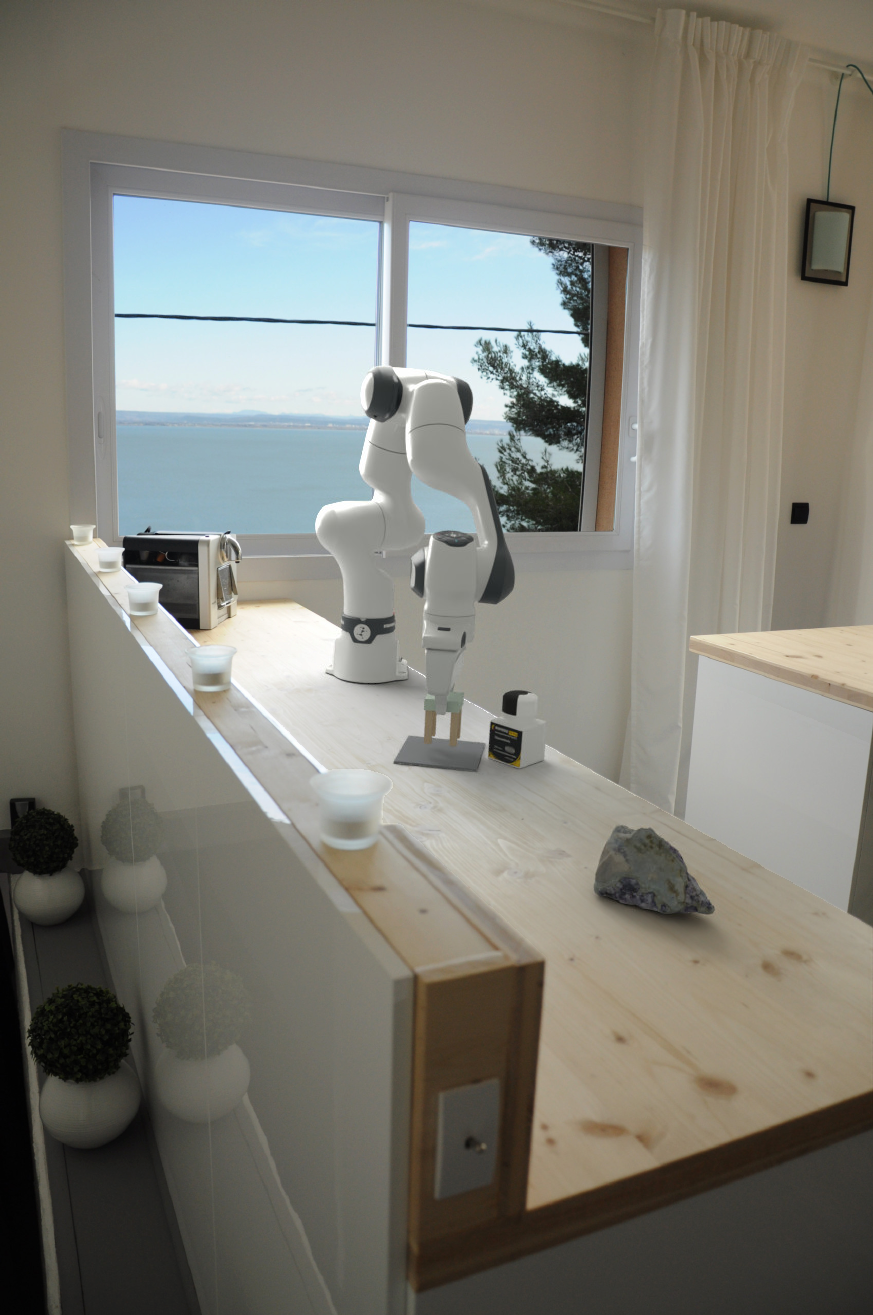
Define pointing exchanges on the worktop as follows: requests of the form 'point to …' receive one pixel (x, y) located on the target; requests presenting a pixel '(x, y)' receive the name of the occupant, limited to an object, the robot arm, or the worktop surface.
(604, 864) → the mineral rock
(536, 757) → the medicine bottle
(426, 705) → the stool
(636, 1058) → the worktop surface
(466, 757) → the mat
